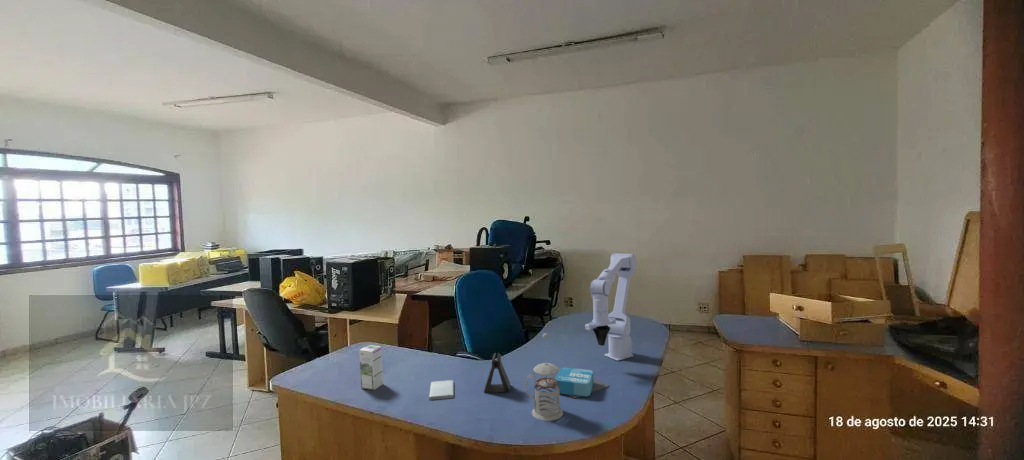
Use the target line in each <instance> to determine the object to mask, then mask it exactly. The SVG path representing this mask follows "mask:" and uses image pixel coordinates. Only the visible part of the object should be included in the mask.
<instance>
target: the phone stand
mask: <svg viewBox="0 0 1024 460" xmlns="http://www.w3.org/2000/svg"><path fill="white" fill-rule="evenodd" d="M496 355H497V356H496ZM495 369H497V370H498V373H499V377H500V381H501V383H498V384H497V383H496V384H495V383H493V384H492V381H493V376H494V373H495ZM510 390H511V382H510V380H509V378H508V375H507V372H506V369H505V367H504V365H503V362H502V354H501V353H500V352H498V353H496V352H494V354H493V355H492V359H491V367H490V370H489V372H488V375H487V379H486V382H485V385H484V390H483V394H495V393H499V394H500V393H501V394H503V393H504V394H506V393H511V391H510Z"/></svg>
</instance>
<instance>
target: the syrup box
mask: <svg viewBox="0 0 1024 460" xmlns="http://www.w3.org/2000/svg"><path fill="white" fill-rule="evenodd" d="M358 352H359V353H358V354H359V368H360V369H359V370H360V388H361V389H362V390H363V389H364V390H372V391H375V390H377V389H379V387H381V386H383V384H384V375H383V357H382V355H383V354H382V352H383V351H382V345H381V346H380V345H365V346H364V347H362V348H361V349H359V350H358Z"/></svg>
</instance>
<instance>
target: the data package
mask: <svg viewBox="0 0 1024 460" xmlns="http://www.w3.org/2000/svg"><path fill="white" fill-rule="evenodd" d="M556 375H557V376H556V378H555V379H556V380H557V381H558V385H559V394H561V395H567V394H569V395H577V396H580V397H589V396H591V391H592V387H593V384H594V378H595V377H594V370H592V369H584V368H575V367H574V368H573V367H560V368H559V372H558V373H557V374H556ZM554 391H556V390H554ZM569 395H568V396H569Z"/></svg>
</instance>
